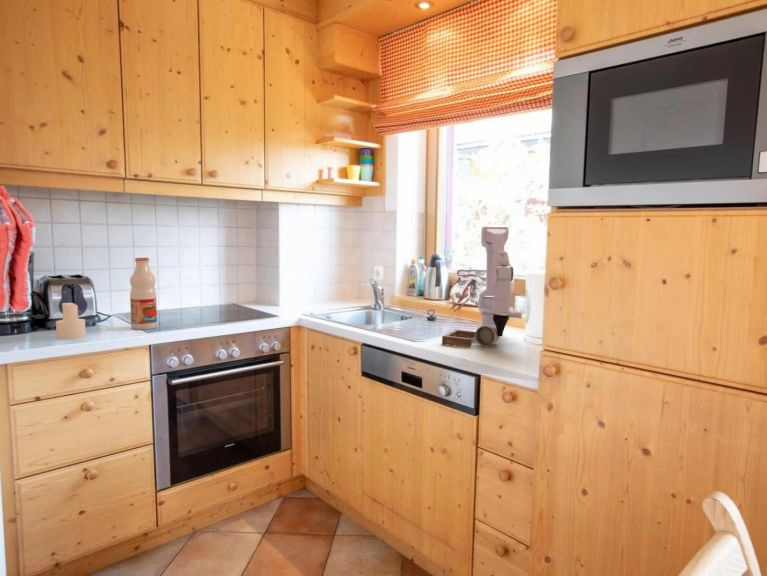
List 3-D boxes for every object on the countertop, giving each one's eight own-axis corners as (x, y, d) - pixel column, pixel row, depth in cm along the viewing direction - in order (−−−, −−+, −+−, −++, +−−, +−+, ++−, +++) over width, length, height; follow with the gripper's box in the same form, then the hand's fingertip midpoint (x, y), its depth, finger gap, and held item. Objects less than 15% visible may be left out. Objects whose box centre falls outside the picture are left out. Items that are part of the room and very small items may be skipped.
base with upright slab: (88, 337, 183) (87, 304, 182) (59, 340, 177) (58, 307, 175) (82, 333, 189) (80, 301, 188) (54, 336, 183) (52, 303, 182)
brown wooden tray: (454, 336, 199) (455, 329, 199) (480, 339, 194) (481, 332, 194) (442, 344, 186) (442, 336, 185) (469, 347, 181) (470, 339, 181)
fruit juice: (139, 325, 207) (137, 257, 204) (161, 326, 207) (159, 257, 204) (126, 329, 198) (123, 258, 195) (149, 330, 197) (147, 258, 194)
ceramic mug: (500, 343, 188) (500, 323, 187) (494, 348, 181) (495, 326, 180) (472, 340, 193) (473, 321, 192) (466, 345, 186) (466, 324, 185)
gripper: (479, 298, 181) (477, 335, 183) (520, 301, 175) (518, 340, 177) (484, 296, 188) (482, 332, 189) (524, 299, 181) (522, 336, 183)
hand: (500, 336), depth 183 cm, fingers closed
